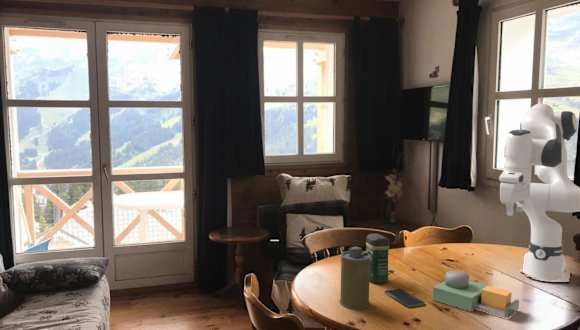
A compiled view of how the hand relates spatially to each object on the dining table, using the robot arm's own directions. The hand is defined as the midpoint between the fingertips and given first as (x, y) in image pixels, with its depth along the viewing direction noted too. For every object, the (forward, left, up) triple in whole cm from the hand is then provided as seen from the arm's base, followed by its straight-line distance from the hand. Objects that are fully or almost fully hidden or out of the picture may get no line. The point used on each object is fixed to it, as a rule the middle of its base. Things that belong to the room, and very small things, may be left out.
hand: (514, 213), depth 165 cm
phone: (+30, -26, -32) cm, 51 cm away
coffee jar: (+21, -44, -31) cm, 58 cm away
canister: (+46, -36, -31) cm, 66 cm away
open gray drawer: (+16, +1, -31) cm, 35 cm away
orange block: (+16, +1, -30) cm, 34 cm away
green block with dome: (+16, -11, -31) cm, 37 cm away
